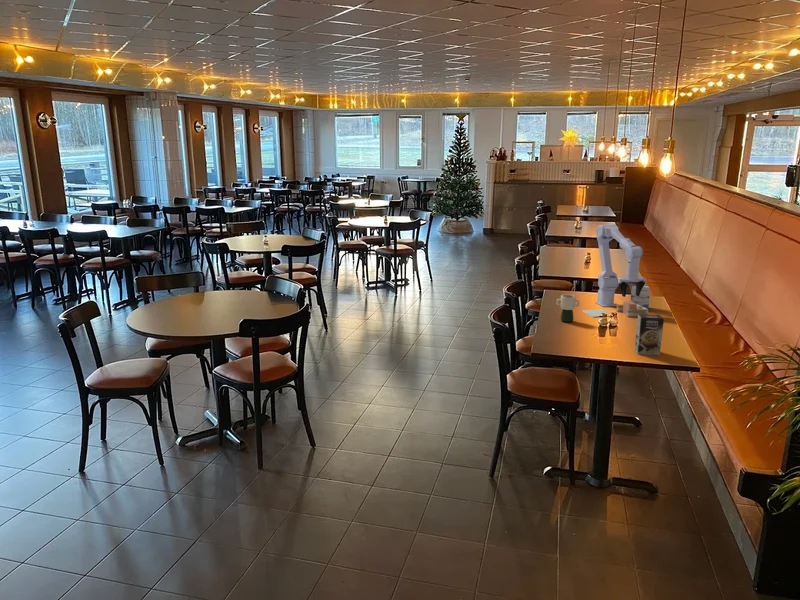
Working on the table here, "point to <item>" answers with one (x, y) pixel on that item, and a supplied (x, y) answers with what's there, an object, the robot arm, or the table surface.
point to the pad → (595, 312)
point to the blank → (628, 306)
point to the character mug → (567, 307)
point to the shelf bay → (633, 311)
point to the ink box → (641, 296)
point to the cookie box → (649, 334)
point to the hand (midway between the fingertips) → (630, 296)
